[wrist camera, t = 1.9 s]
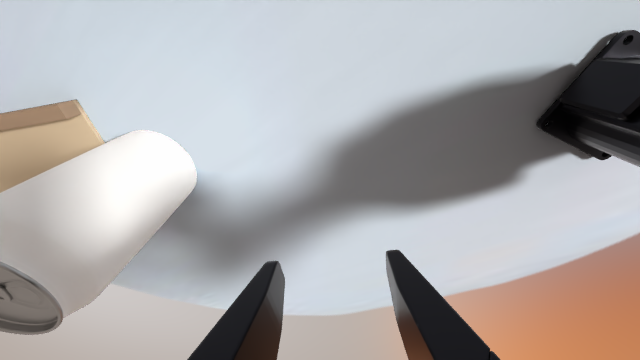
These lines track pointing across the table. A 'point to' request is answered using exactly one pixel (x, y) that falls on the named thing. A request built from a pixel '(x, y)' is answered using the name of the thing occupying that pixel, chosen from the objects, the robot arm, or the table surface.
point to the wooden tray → (42, 140)
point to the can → (84, 225)
